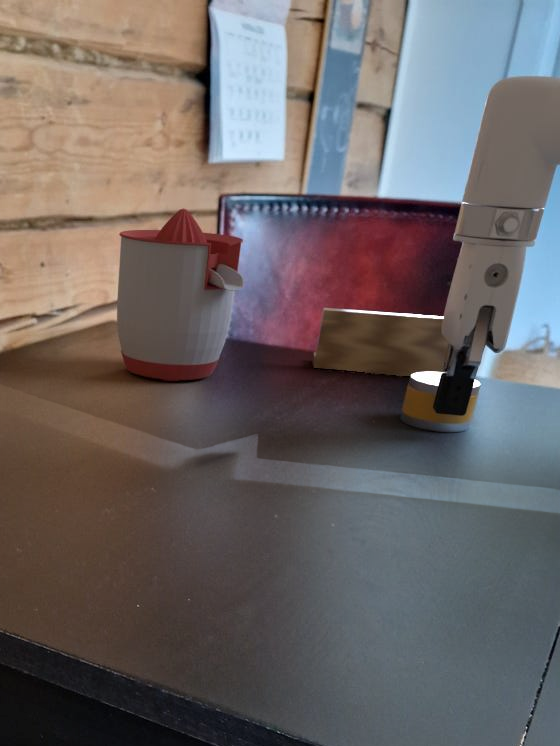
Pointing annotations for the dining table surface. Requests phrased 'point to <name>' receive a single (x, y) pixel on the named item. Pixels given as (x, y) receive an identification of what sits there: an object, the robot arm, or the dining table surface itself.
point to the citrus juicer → (176, 298)
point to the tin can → (421, 405)
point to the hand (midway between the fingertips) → (448, 412)
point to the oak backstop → (380, 342)
